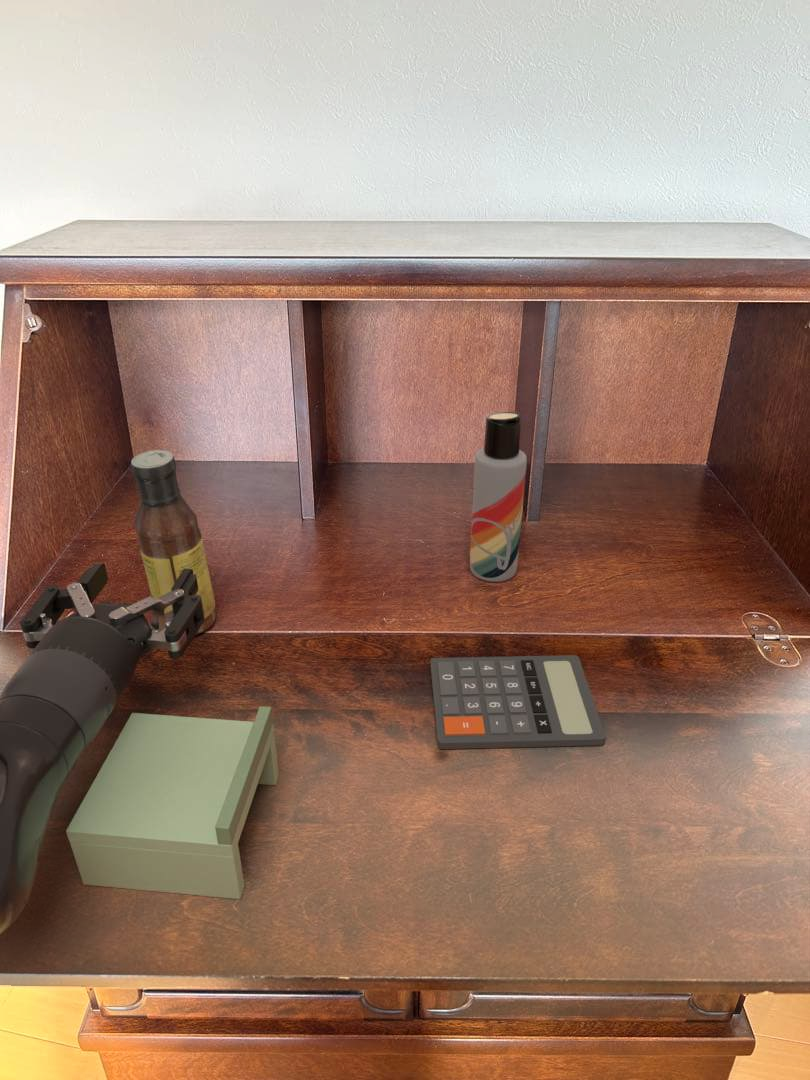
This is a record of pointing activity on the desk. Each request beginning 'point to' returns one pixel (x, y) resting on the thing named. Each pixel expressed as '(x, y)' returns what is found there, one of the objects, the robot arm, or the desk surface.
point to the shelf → (174, 804)
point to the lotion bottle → (498, 499)
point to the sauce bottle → (169, 531)
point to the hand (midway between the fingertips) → (146, 573)
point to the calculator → (513, 702)
